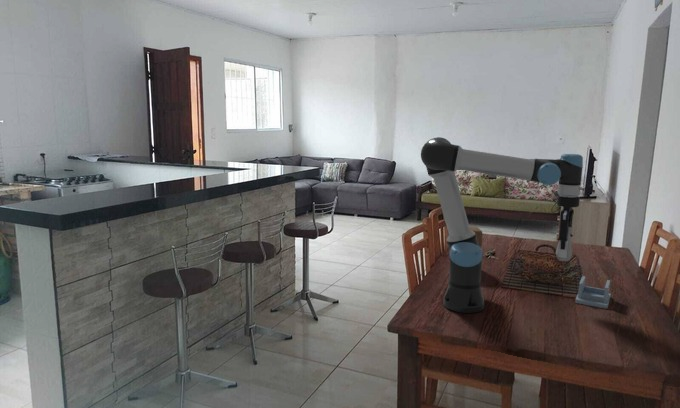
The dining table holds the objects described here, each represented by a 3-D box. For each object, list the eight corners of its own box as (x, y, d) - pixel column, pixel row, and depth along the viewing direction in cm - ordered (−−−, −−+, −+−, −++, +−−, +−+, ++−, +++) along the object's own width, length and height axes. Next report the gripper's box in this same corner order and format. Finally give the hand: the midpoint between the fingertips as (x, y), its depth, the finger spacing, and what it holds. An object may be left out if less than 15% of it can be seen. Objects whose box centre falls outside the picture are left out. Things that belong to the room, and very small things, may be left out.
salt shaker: (573, 262, 183) (576, 228, 180) (557, 261, 184) (559, 228, 181) (569, 258, 188) (572, 225, 186) (553, 257, 189) (556, 224, 187)
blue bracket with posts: (607, 308, 182) (609, 289, 181) (575, 302, 188) (576, 284, 186) (610, 297, 194) (612, 279, 192) (579, 291, 199) (581, 274, 198)
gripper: (576, 200, 172) (570, 262, 176) (583, 193, 187) (577, 250, 192) (553, 198, 176) (548, 259, 180) (562, 191, 191) (557, 248, 196)
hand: (563, 255), depth 186 cm, fingers closed on salt shaker, 6 cm apart
